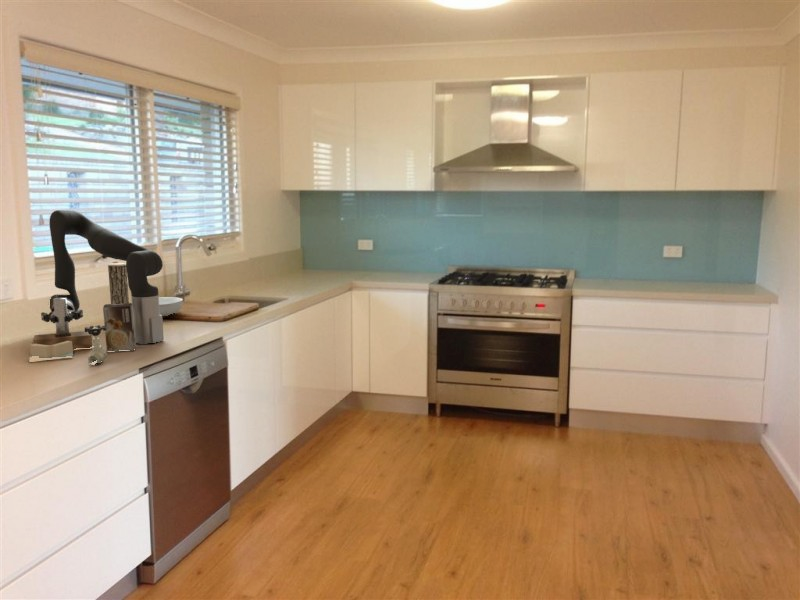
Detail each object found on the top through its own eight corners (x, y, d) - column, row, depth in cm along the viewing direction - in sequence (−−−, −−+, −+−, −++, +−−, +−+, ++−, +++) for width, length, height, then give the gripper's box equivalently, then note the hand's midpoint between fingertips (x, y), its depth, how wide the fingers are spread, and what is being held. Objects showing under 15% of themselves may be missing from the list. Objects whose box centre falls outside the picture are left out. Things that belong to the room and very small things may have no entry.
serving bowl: (191, 311, 306) (190, 296, 305) (171, 321, 285) (170, 305, 284) (147, 311, 308) (146, 296, 307) (124, 320, 287) (122, 304, 286)
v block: (31, 355, 230) (29, 342, 229) (73, 351, 235) (72, 338, 234) (28, 362, 221) (27, 349, 220) (73, 358, 226) (72, 345, 225)
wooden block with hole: (92, 344, 246) (91, 330, 245) (92, 349, 239) (91, 335, 238) (36, 349, 238) (34, 335, 238) (34, 354, 231) (33, 340, 230)
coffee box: (136, 347, 242) (133, 302, 239) (134, 351, 235) (131, 305, 233) (108, 348, 239) (104, 303, 236) (106, 353, 233) (102, 307, 230)
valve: (112, 360, 223) (109, 325, 221) (104, 366, 217) (101, 329, 215) (91, 361, 223) (88, 325, 221) (83, 366, 216) (80, 329, 214)
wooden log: (111, 326, 275) (106, 265, 270) (113, 323, 281) (109, 263, 277) (129, 325, 276) (125, 264, 272) (131, 322, 283) (127, 262, 278)
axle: (73, 348, 240) (68, 297, 237) (64, 350, 236) (59, 299, 233) (64, 347, 241) (59, 297, 238) (55, 350, 237) (50, 299, 234)
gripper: (40, 302, 246) (36, 310, 231) (83, 299, 252) (83, 307, 236) (42, 322, 247) (39, 332, 232) (85, 319, 253) (84, 328, 238)
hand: (61, 319), depth 234 cm, fingers closed on axle, 4 cm apart
